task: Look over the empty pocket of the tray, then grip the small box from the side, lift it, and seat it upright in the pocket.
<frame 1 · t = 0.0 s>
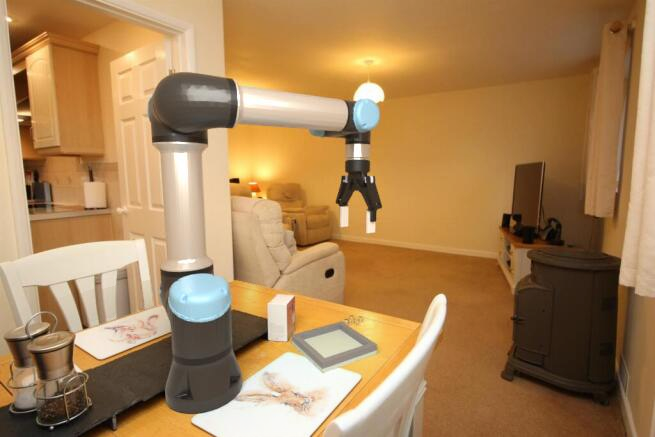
hand: (356, 229, 105), 28 cm above the table, tool pointing down, fingers open, 13 cm apart
tray: (333, 348, 89), on the table
decorative box: (192, 323, 104), on the table
dice set: (353, 325, 105), on the table
small box: (282, 335, 96), on the table
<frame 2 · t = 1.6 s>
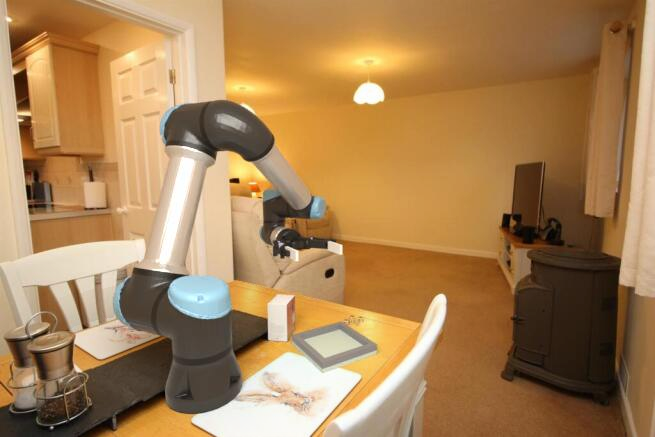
hand: (320, 252, 91), 24 cm above the table, tool horizontal, fingers open, 13 cm apart
nothing on the table moved.
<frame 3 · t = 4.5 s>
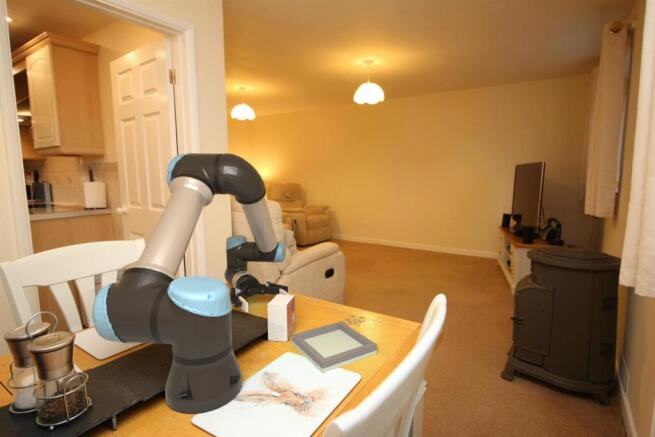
hand: (268, 303, 104), 6 cm above the table, tool horizontal, fingers open, 13 cm apart
nothing on the table moved.
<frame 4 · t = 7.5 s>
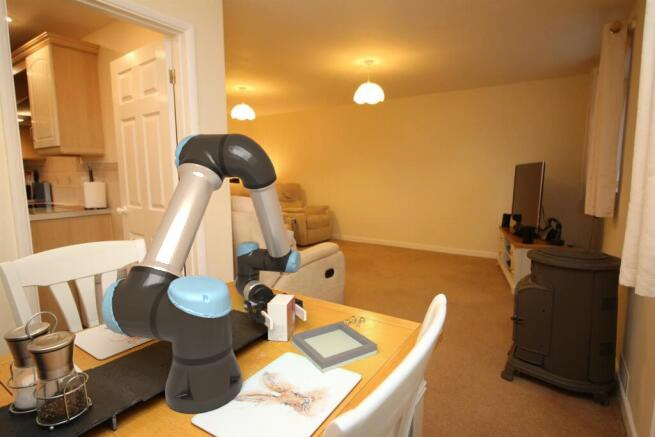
hand: (288, 320, 92), 6 cm above the table, tool horizontal, fingers closed on small box, 9 cm apart
small box: (282, 335, 96), on the table, touching gripper
everything else where it was.
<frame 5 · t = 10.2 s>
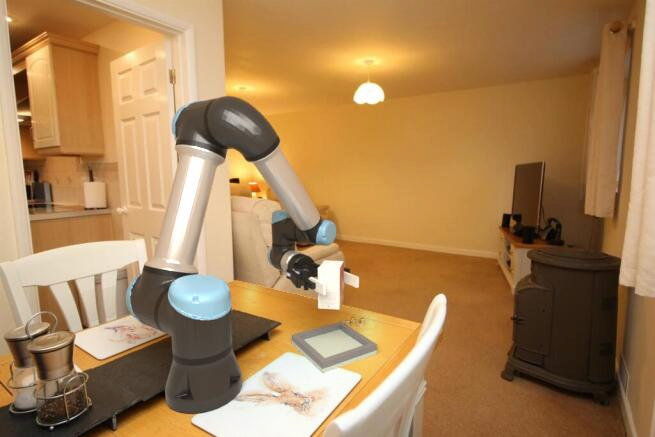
hand: (341, 285, 83), 18 cm above the table, tool horizontal, fingers closed on small box, 9 cm apart
small box: (331, 304, 88), point 12 cm above the table, touching gripper
everything else where it was.
when the fingers open (8 cm above the table, at t = 12.7 s): small box stays where it is, resting on tray.
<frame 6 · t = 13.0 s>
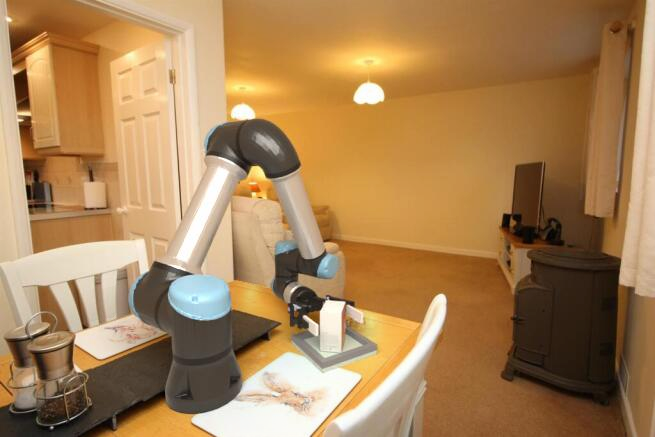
hand: (340, 324, 85), 8 cm above the table, tool horizontal, fingers open, 13 cm apart
small box: (333, 345, 89), point 1 cm above the table, touching tray
everything else where it was.
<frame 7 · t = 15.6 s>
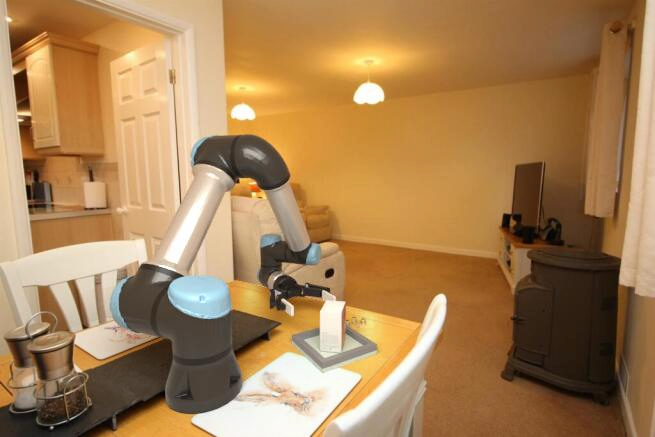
hand: (314, 306, 96), 8 cm above the table, tool horizontal, fingers open, 13 cm apart
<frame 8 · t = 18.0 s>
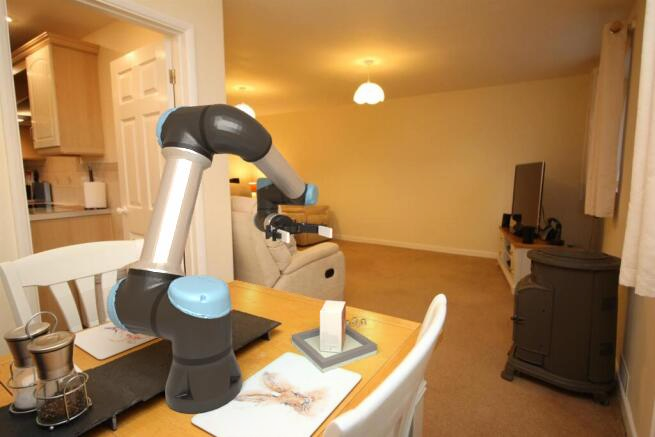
hand: (310, 235, 95), 28 cm above the table, tool horizontal, fingers open, 13 cm apart
at the end: small box 0.1 cm off-centre on the tray, point 0.8 cm above the tray's base; small box tilted 0°; the gripper is holding nothing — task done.
